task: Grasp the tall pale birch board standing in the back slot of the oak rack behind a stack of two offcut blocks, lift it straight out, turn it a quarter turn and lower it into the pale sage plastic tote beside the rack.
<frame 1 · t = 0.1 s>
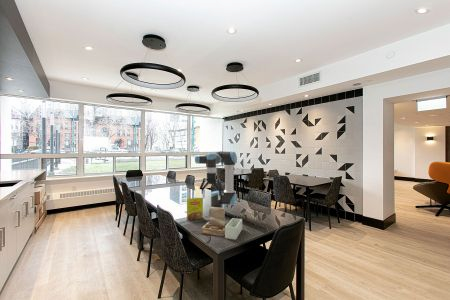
hand: (211, 198, 171), 28 cm above the table, fingers open, 13 cm apart
food package: (195, 218, 206), on the table
offcut upper: (214, 229, 174), point 2 cm above the table, touching offcut lower
board: (217, 228, 181), on the table
rack: (215, 230, 177), on the table
offcut lower: (214, 232, 174), on the table, touching offcut upper
tote: (234, 233, 172), on the table
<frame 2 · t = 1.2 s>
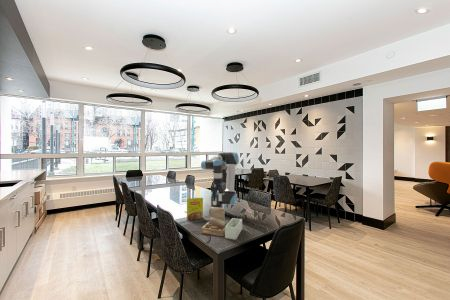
hand: (217, 202, 181), 22 cm above the table, fingers open, 13 cm apart
offcut upper: (214, 229, 174), point 2 cm above the table
offcut lower: (214, 232, 175), on the table
everything else where it was.
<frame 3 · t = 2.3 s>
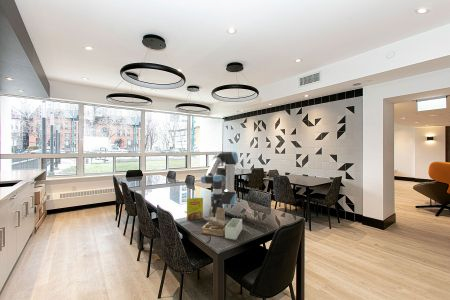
hand: (217, 218, 181), 9 cm above the table, fingers open, 13 cm apart
offcut upper: (214, 229, 175), point 2 cm above the table, touching offcut lower
offcut lower: (214, 232, 175), on the table, touching offcut upper
everything else where it was.
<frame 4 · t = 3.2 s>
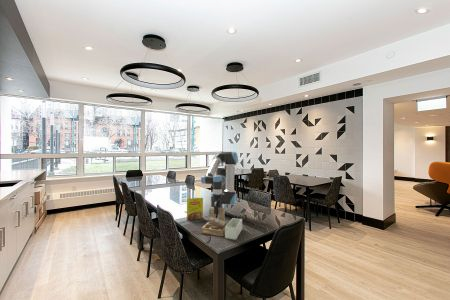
hand: (217, 221, 181), 7 cm above the table, fingers closed on board, 2 cm apart
board: (217, 228, 181), on the table, touching gripper
everything else where it was.
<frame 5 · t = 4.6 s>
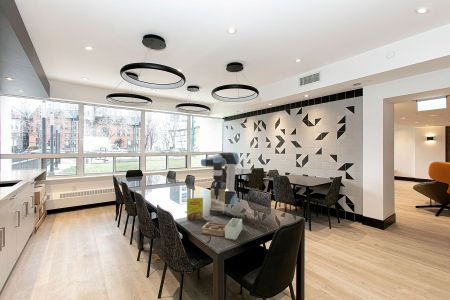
hand: (217, 202, 181), 22 cm above the table, fingers closed on board, 2 cm apart
board: (217, 210, 181), point 16 cm above the table, touching gripper
everything else where it was.
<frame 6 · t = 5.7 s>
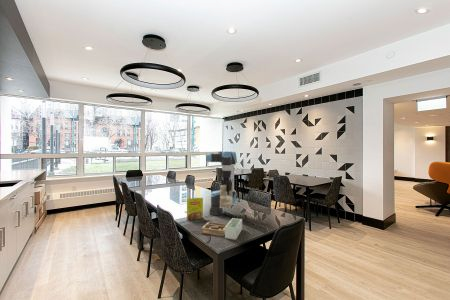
hand: (226, 198, 175), 27 cm above the table, fingers closed on board, 2 cm apart
board: (226, 206, 175), point 21 cm above the table, touching gripper
everything else where it was.
when the fingers open (10 cm above the table, at t = 8.9 s): board drops 3 cm, resting on tote.
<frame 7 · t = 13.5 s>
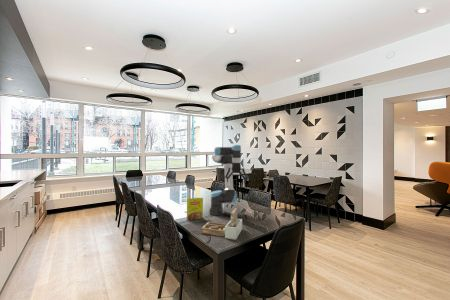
hand: (236, 186, 188), 35 cm above the table, fingers open, 13 cm apart
board: (233, 232, 172), point 1 cm above the table, touching tote
at the end: board inside the target area on the tote (0.0 cm from its centre), point 0.8 cm above the tote's base; the gripper is holding nothing; board touching tote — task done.
